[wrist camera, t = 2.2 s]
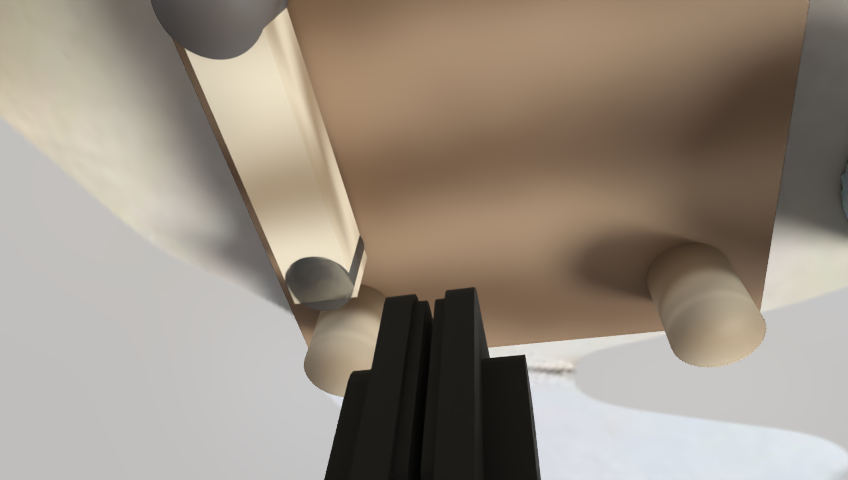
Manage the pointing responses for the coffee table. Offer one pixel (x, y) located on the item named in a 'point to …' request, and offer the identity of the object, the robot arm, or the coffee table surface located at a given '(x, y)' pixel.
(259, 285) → the coffee table surface
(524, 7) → the stool seat
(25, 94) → the coffee table surface
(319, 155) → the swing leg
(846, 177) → the teal cup
